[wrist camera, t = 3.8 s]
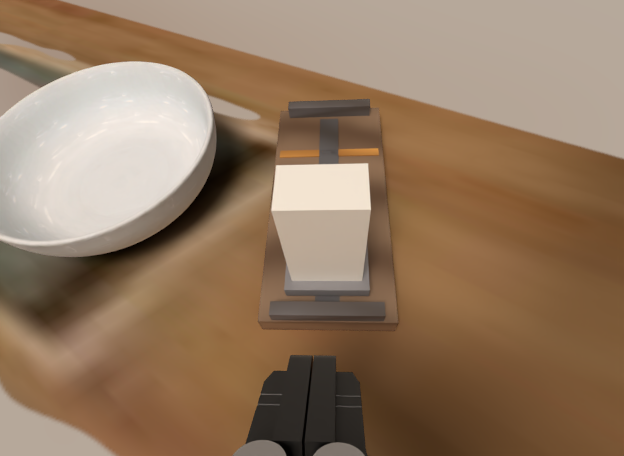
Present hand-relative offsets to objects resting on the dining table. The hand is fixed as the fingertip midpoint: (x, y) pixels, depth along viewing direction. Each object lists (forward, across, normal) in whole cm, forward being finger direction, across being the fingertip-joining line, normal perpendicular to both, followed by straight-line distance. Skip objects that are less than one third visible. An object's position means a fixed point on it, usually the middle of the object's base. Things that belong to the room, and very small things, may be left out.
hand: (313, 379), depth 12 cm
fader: (+16, 0, +2) cm, 16 cm away
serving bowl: (+25, +20, -3) cm, 32 cm away
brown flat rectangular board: (+22, 0, -1) cm, 22 cm away
